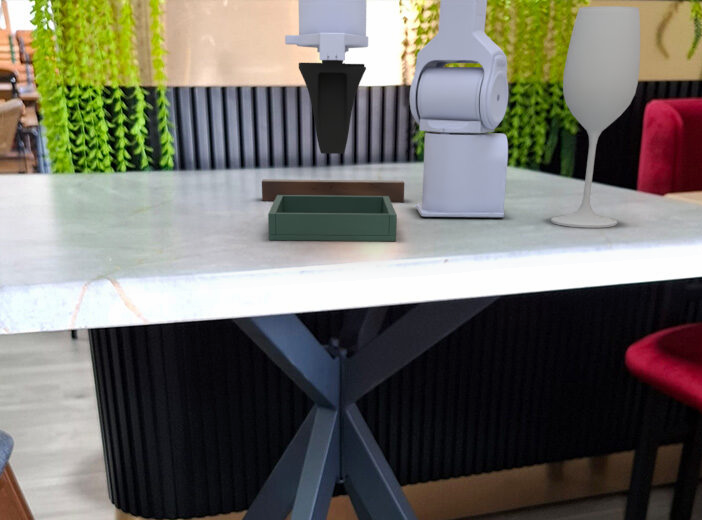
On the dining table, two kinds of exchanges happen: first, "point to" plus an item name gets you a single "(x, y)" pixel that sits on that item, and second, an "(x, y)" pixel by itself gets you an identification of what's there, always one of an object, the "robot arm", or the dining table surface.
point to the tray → (332, 218)
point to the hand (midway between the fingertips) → (332, 151)
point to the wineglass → (600, 84)
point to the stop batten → (333, 188)
